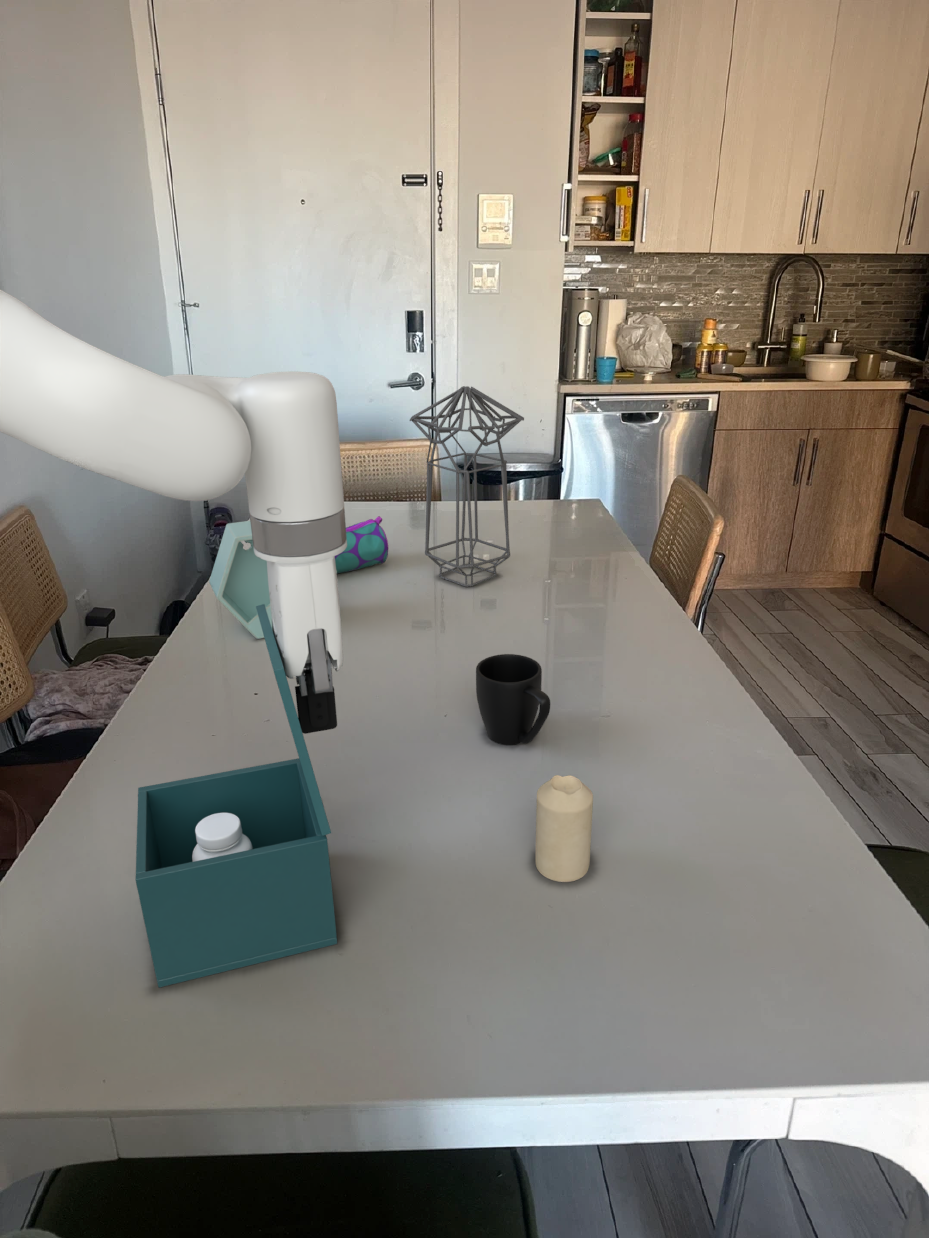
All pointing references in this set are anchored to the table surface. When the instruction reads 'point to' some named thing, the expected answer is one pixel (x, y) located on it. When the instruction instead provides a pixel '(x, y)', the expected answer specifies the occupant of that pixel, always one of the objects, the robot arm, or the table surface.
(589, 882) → the table surface
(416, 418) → the geometric lantern
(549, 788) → the candle
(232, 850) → the supplement bottle
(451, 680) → the table surface
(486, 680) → the mug
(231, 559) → the planter
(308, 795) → the teal open box
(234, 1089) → the table surface
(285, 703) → the cool box lid
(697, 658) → the table surface
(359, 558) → the pencil case
